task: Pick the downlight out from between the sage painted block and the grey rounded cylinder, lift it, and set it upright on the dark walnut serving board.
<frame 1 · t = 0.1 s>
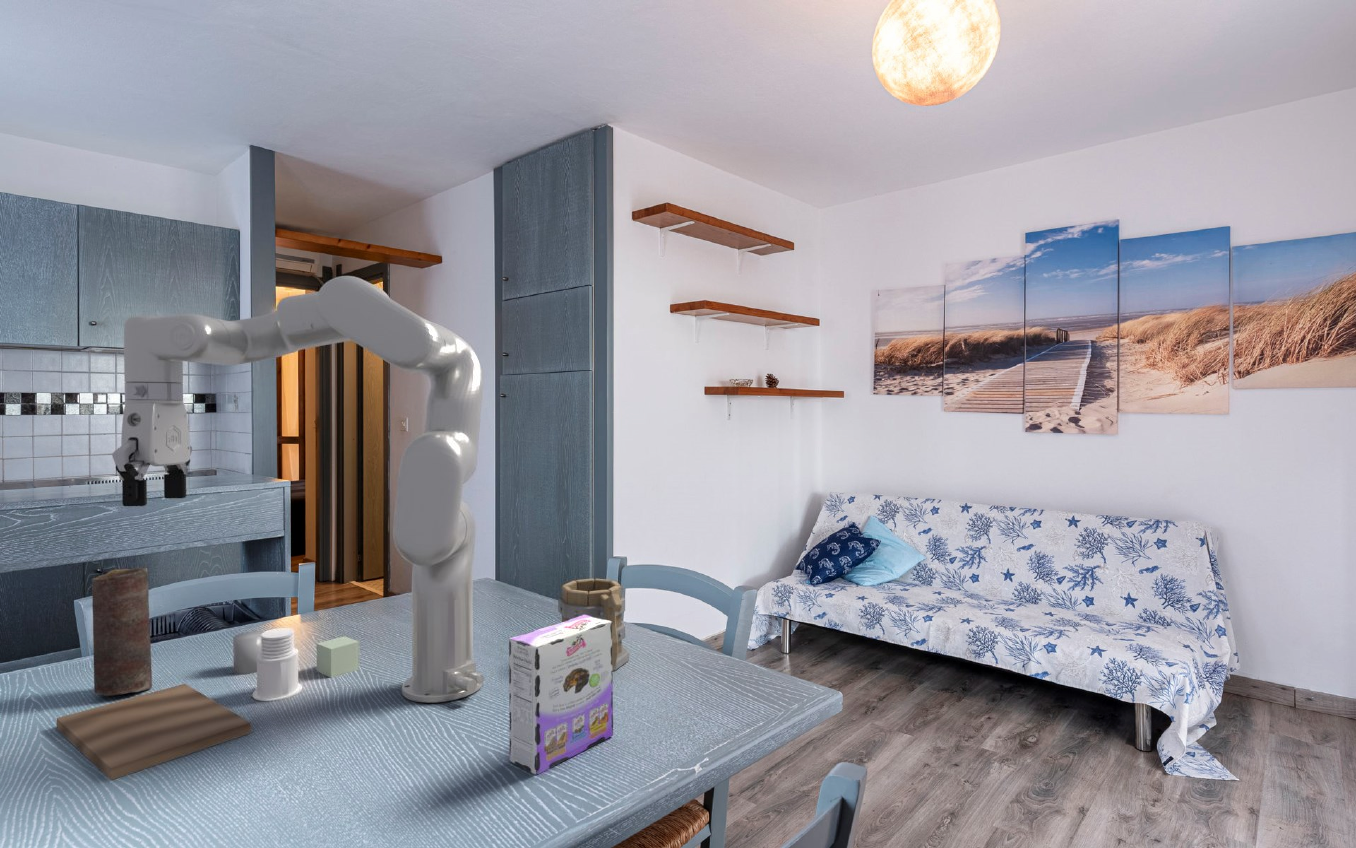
hand: (155, 501, 113), 31 cm above the table, tool pointing down, fingers open, 9 cm apart
sage block: (338, 670, 125), on the table
candy box: (563, 750, 96), on the table
brown textured cylinder: (123, 694, 115), on the table
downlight: (278, 694, 115), on the table
grey rounded cylinder: (250, 669, 125), on the table
tankard: (597, 669, 126), on the table
walnut board: (153, 730, 101), on the table
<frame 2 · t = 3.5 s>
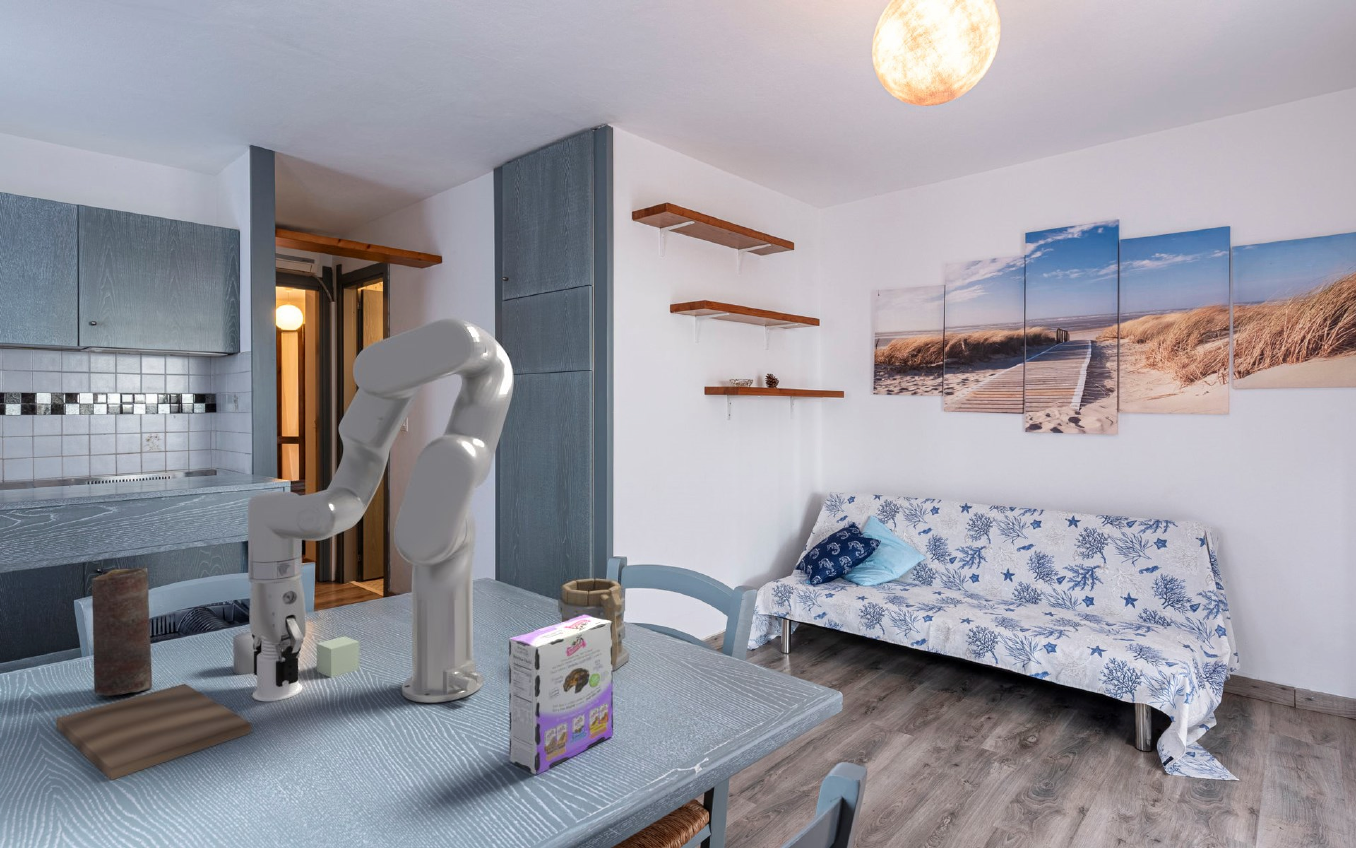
hand: (275, 677, 115), 2 cm above the table, tool pointing down, fingers closed on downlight, 7 cm apart
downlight: (278, 694, 115), on the table, touching gripper
everything else where it was.
when the fingers open (5 cm above the table, at t = 10.6 s): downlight drops 1 cm, resting on walnut board.
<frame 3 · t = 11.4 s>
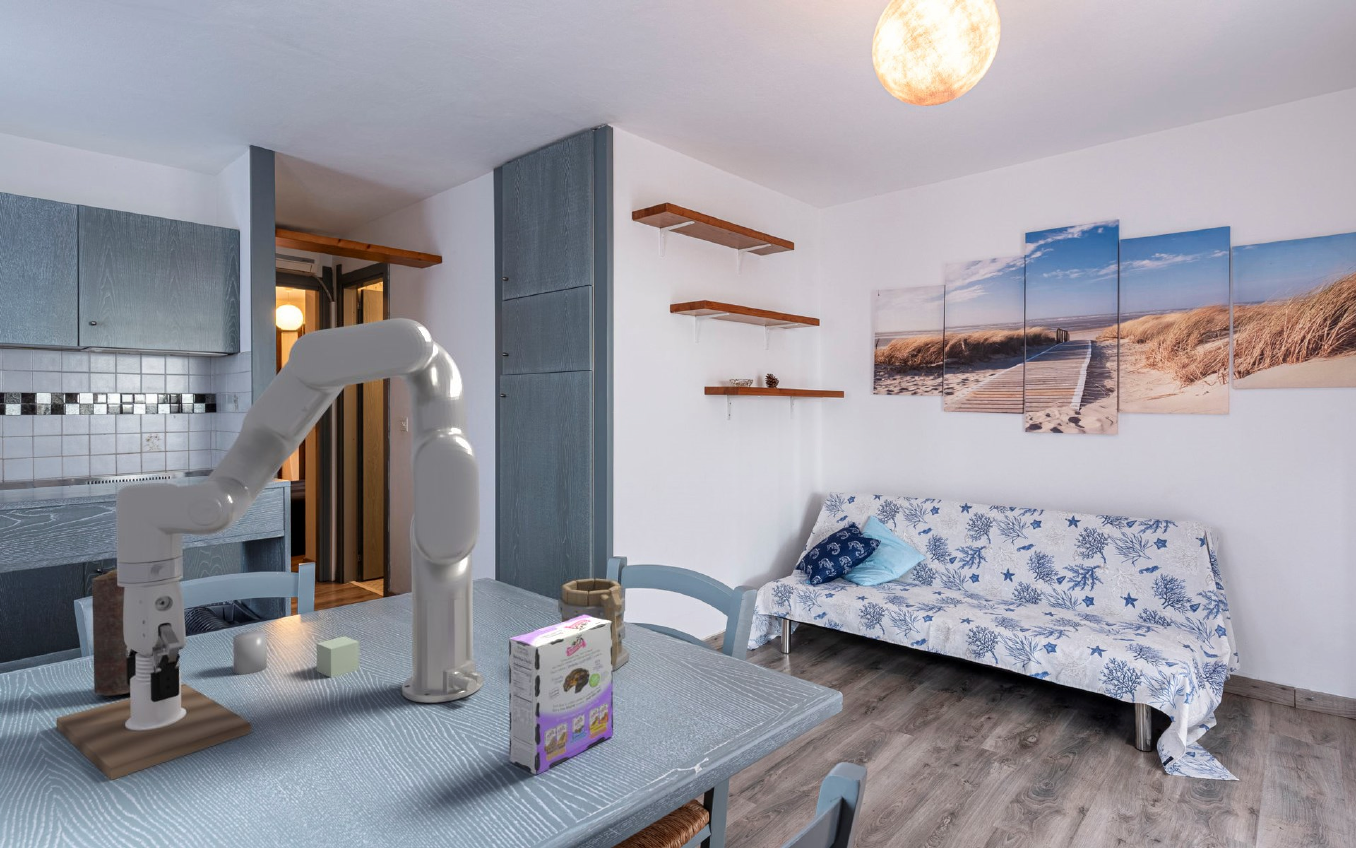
hand: (152, 690, 101), 6 cm above the table, tool pointing down, fingers open, 9 cm apart
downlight: (156, 721, 101), point 1 cm above the table, touching walnut board
everything else where it was.
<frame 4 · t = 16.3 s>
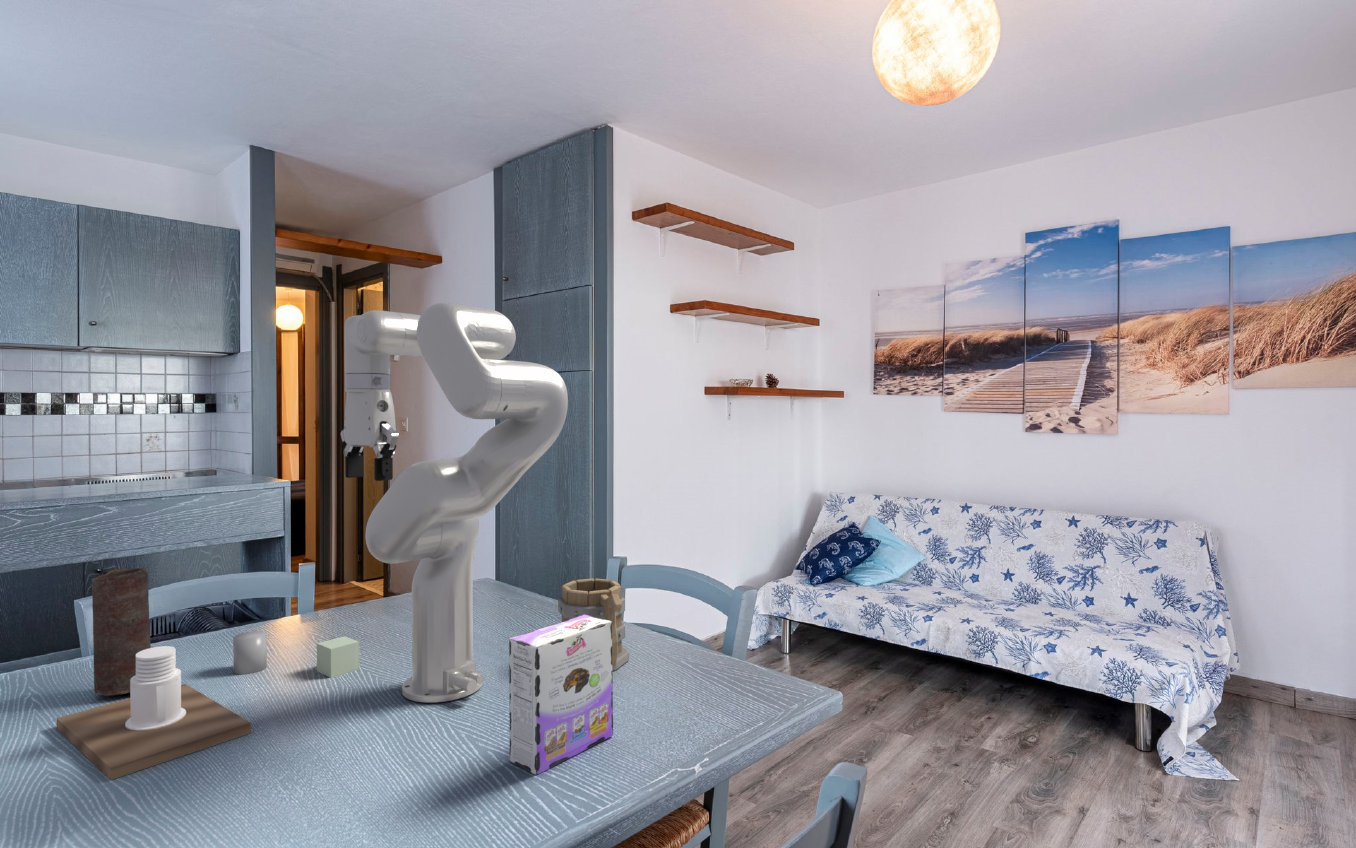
hand: (368, 478, 129), 33 cm above the table, tool pointing down, fingers open, 9 cm apart
nothing on the table moved.
at the end: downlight inside the target area on the walnut board (0.5 cm from its centre), point 1.3 cm above the walnut board's base; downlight tilted 0°; the gripper is holding nothing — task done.
